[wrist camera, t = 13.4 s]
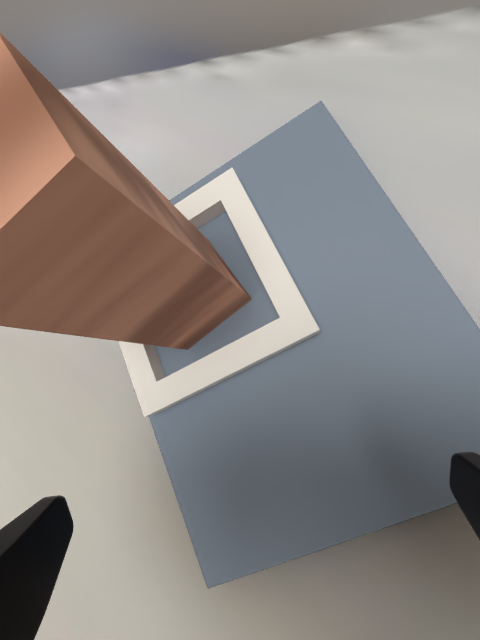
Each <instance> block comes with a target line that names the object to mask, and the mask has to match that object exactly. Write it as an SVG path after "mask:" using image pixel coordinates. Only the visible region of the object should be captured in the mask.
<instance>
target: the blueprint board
mask: <svg viewBox="0 0 480 640" xmlns="http://www.w3.org/2000/svg"><path fill="white" fill-rule="evenodd" d="M169 201H170V202H171V203H172V204H173V205H174V206H175V207H176V208H177V209H178V210H179V211H180V212H181V213H182V214H183V215H184V216H185V217H186V218H187V219H188V220H189V221H190V222H191V223H192V224H193V225H194V226H195V227H196V228H197V229H198V230H199V231H200V232H201V233H202V234H203V235H204V236H205V237H206V238H207V239H208V240H209V242H210V243H211V244H212V246H213V247H214V248H215V250H216V251H217V253H218V254H219V255H220V257H221V258H222V259H223V261H224V262H225V263H226V265H227V266H228V267H229V269H230V270H231V271H232V273H233V274H234V275H235V277H236V278H237V280H238V281H239V282H240V284H241V285H242V286H243V288H244V289H245V290H246V292H247V293H248V294H249V296H250V297H251V298H252V300H250V301H249V302H248V303H247V304H245V305H244V306H243V307H241V308H240V309H239V310H238V311H236V312H235V313H234V314H233V315H231V316H230V317H229V318H227V319H226V320H225V321H224V322H222V323H221V324H220V325H219V326H217V327H216V328H215V329H214V330H212V331H211V332H210V333H208V334H207V335H206V336H205V337H203V338H202V339H201V340H200V341H198V342H197V343H196V344H194V345H193V346H192V347H191V348H189V349H188V350H185V349H177V348H170V347H162V346H154V345H146V344H138V343H131V342H123V341H119V344H120V347H121V350H122V353H123V356H124V359H125V362H126V365H127V368H128V371H129V374H130V377H131V380H132V383H133V386H134V389H135V391H136V394H137V397H138V400H139V403H140V406H141V409H142V412H143V415H144V417H147V416H149V419H150V421H151V424H152V427H153V430H154V433H155V436H156V439H157V442H158V445H159V448H160V451H161V454H162V456H163V459H164V462H165V465H166V468H167V471H168V474H169V477H170V480H171V483H172V486H173V488H174V491H175V494H176V497H177V500H178V503H179V506H180V509H181V512H182V515H183V518H184V521H185V523H186V526H187V529H188V532H189V535H190V538H191V541H192V544H193V547H194V550H195V553H196V556H197V558H198V561H199V564H200V567H201V570H202V573H203V576H204V579H205V582H206V585H207V588H211V587H214V586H217V585H220V584H223V583H226V582H229V581H231V580H234V579H237V578H240V577H243V576H246V575H249V574H252V573H255V572H258V571H261V570H263V569H266V568H269V567H272V566H275V565H278V564H281V563H284V562H287V561H290V560H293V559H295V558H298V557H301V556H304V555H307V554H310V553H313V552H316V551H319V550H322V549H325V548H327V547H330V546H333V545H336V544H339V543H342V542H345V541H348V540H351V539H354V538H357V537H359V536H362V535H365V534H368V533H371V532H374V531H377V530H380V529H383V528H386V527H389V526H391V525H394V524H397V523H400V522H403V521H406V520H409V519H412V518H415V517H418V516H421V515H423V514H426V513H429V512H432V511H435V510H438V509H441V508H444V507H447V506H450V505H453V504H455V503H457V501H456V499H455V497H454V496H453V494H452V492H451V489H450V484H449V478H450V464H451V457H452V455H453V454H455V453H460V452H474V453H477V454H479V455H480V329H479V328H478V326H477V325H476V323H475V322H474V321H473V319H472V318H471V316H470V315H469V313H468V312H467V310H466V309H465V308H464V306H463V305H462V303H461V302H460V300H459V299H458V297H457V296H456V295H455V293H454V292H453V290H452V289H451V287H450V286H449V284H448V283H447V282H446V280H445V279H444V277H443V276H442V274H441V273H440V272H439V270H438V269H437V267H436V266H435V264H434V263H433V261H432V260H431V259H430V257H429V256H428V254H427V253H426V251H425V250H424V248H423V247H422V246H421V244H420V243H419V241H418V240H417V238H416V237H415V235H414V234H413V233H412V231H411V230H410V228H409V227H408V225H407V224H406V222H405V221H404V220H403V218H402V217H401V215H400V214H399V212H398V211H397V209H396V208H395V207H394V205H393V204H392V202H391V201H390V199H389V198H388V196H387V195H386V194H385V192H384V191H383V189H382V188H381V186H380V185H379V183H378V182H377V181H376V179H375V178H374V176H373V175H372V173H371V172H370V170H369V169H368V168H367V166H366V165H365V163H364V162H363V160H362V159H361V157H360V156H359V155H358V153H357V152H356V150H355V149H354V147H353V146H352V145H351V143H350V142H349V140H348V139H347V137H346V136H345V134H344V133H343V132H342V130H341V129H340V127H339V126H338V124H337V123H336V121H335V120H334V119H333V117H332V116H331V114H330V113H329V111H328V110H327V108H326V107H325V106H324V104H323V103H322V101H320V102H318V103H317V104H315V105H314V106H312V107H311V108H309V109H308V110H306V111H305V112H303V113H302V114H300V115H298V116H297V117H295V118H294V119H292V120H291V121H289V122H288V123H286V124H285V125H283V126H282V127H280V128H279V129H277V130H276V131H274V132H273V133H271V134H270V135H268V136H267V137H265V138H264V139H262V140H260V141H259V142H257V143H256V144H254V145H253V146H251V147H250V148H248V149H247V150H245V151H244V152H242V153H241V154H239V155H238V156H236V157H235V158H233V159H232V160H230V161H229V162H227V163H226V164H224V165H223V166H221V167H219V168H218V169H216V170H215V171H213V172H212V173H210V174H209V175H207V176H206V177H204V178H203V179H201V180H200V181H198V182H197V183H195V184H194V185H192V186H191V187H189V188H188V189H186V190H185V191H183V192H182V193H180V194H178V195H177V196H175V197H174V198H172V199H171V200H169Z"/></svg>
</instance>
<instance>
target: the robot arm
mask: <svg viewBox="0 0 480 640" xmlns="http://www.w3.org/2000/svg"><path fill="white" fill-rule="evenodd" d="M449 484H450V489H451V492H452V494H453V496H454V497H455V499H456V501H457V503H458V504H459V506H460V508H461V509H462V511H463V513H464V514H465V516H466V518H467V520H468V521H469V523H470V525H471V526H472V528H473V530H474V531H475V533H476V535H477V536H478V538H479V540H480V455H479V454H477V453H474V452H460V453H455V454H453V455H452V457H451V464H450V478H449ZM72 533H73V520H72V517H71V514H70V511H69V508H68V505H67V502H66V499H65V498H64V497H63V496H50V497H45V498H43V499H41V500H40V501H38V502H37V503H36V504H34V505H33V506H32V507H30V508H29V509H28V510H26V511H25V512H23V513H22V514H21V515H19V516H18V517H17V518H15V519H14V520H13V521H11V522H10V523H9V524H7V525H6V526H5V527H3V528H2V529H1V530H0V640H34V638H35V636H36V634H37V631H38V629H39V627H40V624H41V622H42V619H43V617H44V614H45V612H46V609H47V606H48V604H49V601H50V598H51V595H52V592H53V589H54V586H55V583H56V580H57V578H58V575H59V572H60V569H61V566H62V563H63V560H64V557H65V554H66V551H67V548H68V545H69V542H70V539H71V537H72Z"/></svg>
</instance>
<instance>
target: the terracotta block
mask: <svg viewBox="0 0 480 640" xmlns="http://www.w3.org/2000/svg"><path fill="white" fill-rule="evenodd" d="M250 300H252V298H251V297H250V296H249V294H248V293H247V292H246V290H245V289H244V288H243V286H242V285H241V284H240V282H239V281H238V280H237V278H236V277H235V275H234V274H233V273H232V271H231V270H230V269H229V267H228V266H227V265H226V263H225V262H224V261H223V259H222V258H221V257H220V255H219V254H218V253H217V251H216V250H215V248H214V247H213V246H212V244H211V243H210V242H209V240H208V239H207V238H206V237H205V236H204V235H203V234H202V233H201V232H200V231H199V230H198V229H197V228H196V227H195V226H194V225H193V224H192V223H191V222H190V221H189V220H188V219H187V218H186V217H185V216H184V215H183V214H182V213H181V212H180V211H179V210H178V209H177V208H176V207H175V206H174V205H173V204H172V203H171V202H170V201H169V200H168V199H167V198H166V197H165V196H164V195H163V194H162V193H161V192H160V191H159V190H158V189H157V188H156V187H155V186H154V185H153V184H152V183H151V182H150V181H149V180H148V179H147V178H146V177H145V176H144V175H143V174H142V173H141V172H140V171H139V170H138V169H137V168H136V167H135V166H134V165H133V164H132V163H131V162H130V161H129V160H128V159H127V158H126V157H125V156H124V155H122V154H121V153H120V152H119V151H118V150H117V149H116V148H115V147H114V146H113V145H112V144H111V143H110V142H109V141H108V140H107V139H106V138H105V137H104V136H103V135H102V134H101V133H100V132H99V131H98V130H97V129H96V128H95V127H94V126H93V125H92V124H91V123H90V122H89V121H88V120H87V119H86V118H85V117H84V116H83V115H82V114H81V113H80V112H79V111H78V110H77V109H76V108H75V107H74V106H73V105H72V104H71V103H70V102H69V101H68V100H67V99H66V98H65V97H64V96H63V95H62V94H61V93H60V92H59V91H58V90H57V89H56V88H55V87H54V86H53V85H52V84H51V83H50V82H49V81H48V80H47V79H46V78H45V77H44V76H43V75H42V74H41V73H40V72H39V71H38V70H37V69H36V68H35V67H34V66H33V65H32V64H31V63H30V62H29V61H28V60H27V59H26V58H25V57H24V56H23V55H22V54H21V53H20V52H19V51H18V50H17V49H16V48H15V47H14V46H13V45H12V44H11V43H10V42H9V41H8V40H7V39H6V38H5V37H4V36H3V35H2V34H1V33H0V326H5V327H13V328H21V329H29V330H37V331H45V332H52V333H60V334H68V335H76V336H84V337H91V338H99V339H107V340H115V341H123V342H131V343H138V344H146V345H154V346H162V347H170V348H177V349H185V350H188V349H189V348H191V347H192V346H193V345H194V344H196V343H197V342H198V341H200V340H201V339H202V338H203V337H205V336H206V335H207V334H208V333H210V332H211V331H212V330H214V329H215V328H216V327H217V326H219V325H220V324H221V323H222V322H224V321H225V320H226V319H227V318H229V317H230V316H231V315H233V314H234V313H235V312H236V311H238V310H239V309H240V308H241V307H243V306H244V305H245V304H247V303H248V302H249V301H250Z"/></svg>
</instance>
